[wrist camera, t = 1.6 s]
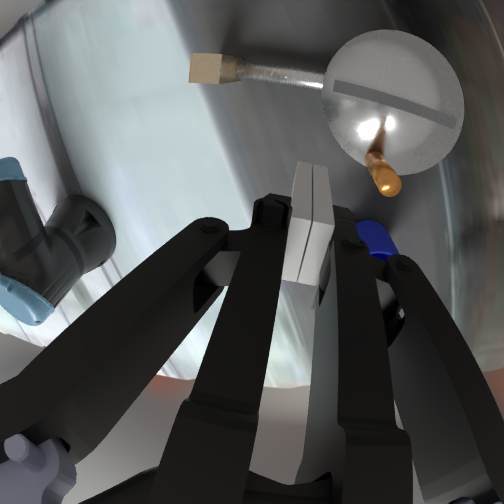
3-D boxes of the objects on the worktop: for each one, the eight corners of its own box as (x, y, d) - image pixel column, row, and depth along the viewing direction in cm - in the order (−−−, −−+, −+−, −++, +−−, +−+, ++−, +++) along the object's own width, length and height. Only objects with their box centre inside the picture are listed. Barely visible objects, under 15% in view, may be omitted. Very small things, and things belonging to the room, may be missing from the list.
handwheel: (310, 152, 29) (309, 179, 23) (333, 14, 21) (341, -6, 14) (438, 186, 28) (468, 221, 22) (470, 62, 20) (512, 66, 13)
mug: (317, 206, 43) (318, 243, 34) (396, 216, 41) (414, 254, 33) (311, 253, 47) (309, 296, 39) (384, 262, 45) (395, 304, 37)
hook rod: (216, 78, 35) (188, 82, 27) (219, 56, 33) (191, 53, 25) (406, 116, 33) (433, 131, 24) (411, 93, 31) (440, 102, 23)
